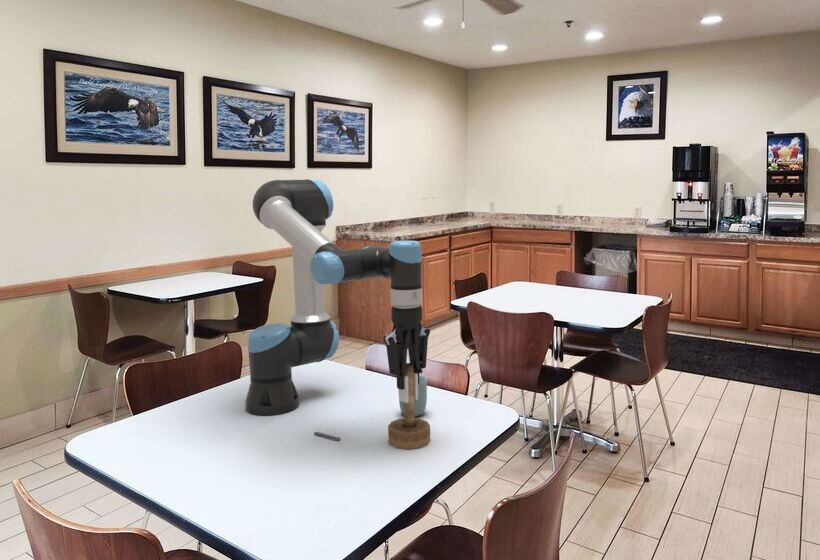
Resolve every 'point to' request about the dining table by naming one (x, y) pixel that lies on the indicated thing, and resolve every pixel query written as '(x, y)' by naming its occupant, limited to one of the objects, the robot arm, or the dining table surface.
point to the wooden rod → (410, 405)
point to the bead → (409, 434)
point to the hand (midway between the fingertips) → (408, 399)
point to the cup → (419, 398)
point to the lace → (327, 436)
